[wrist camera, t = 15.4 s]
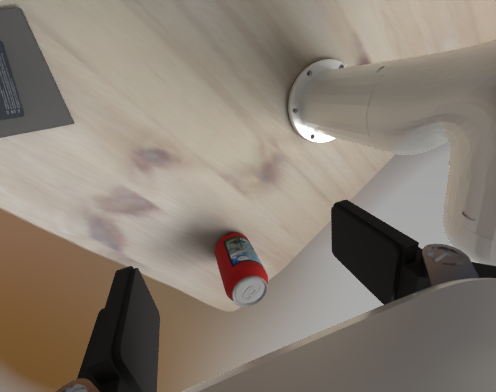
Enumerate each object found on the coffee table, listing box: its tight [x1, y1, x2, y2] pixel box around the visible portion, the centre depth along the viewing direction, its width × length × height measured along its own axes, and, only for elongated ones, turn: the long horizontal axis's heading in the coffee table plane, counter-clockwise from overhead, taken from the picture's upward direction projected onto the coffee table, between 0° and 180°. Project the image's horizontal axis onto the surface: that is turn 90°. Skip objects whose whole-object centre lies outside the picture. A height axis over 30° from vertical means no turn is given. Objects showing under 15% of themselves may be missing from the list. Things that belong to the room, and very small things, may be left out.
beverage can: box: [215, 233, 268, 307], centre depth 40 cm, size 7×7×12 cm
